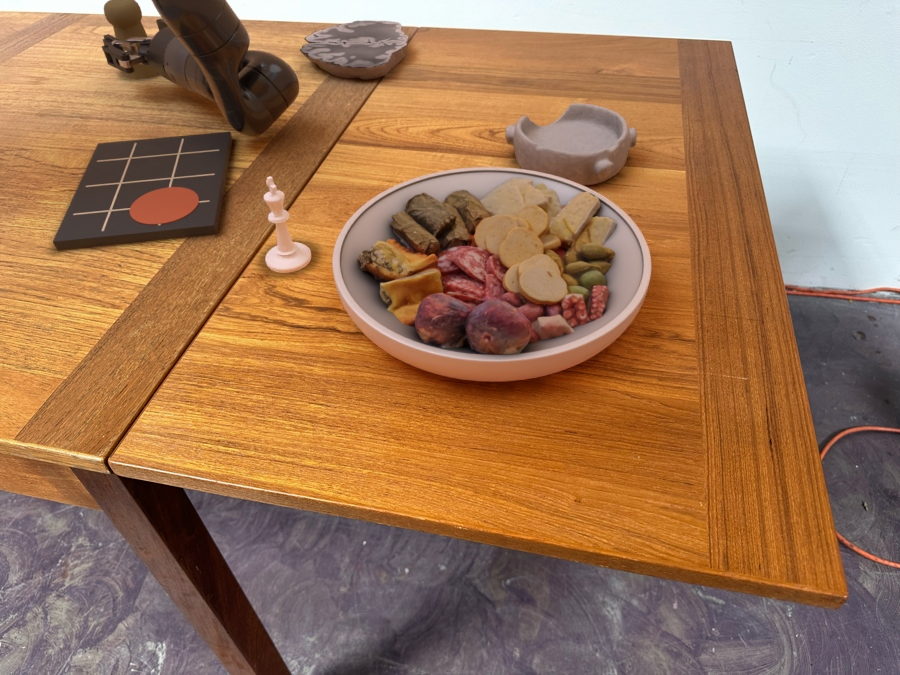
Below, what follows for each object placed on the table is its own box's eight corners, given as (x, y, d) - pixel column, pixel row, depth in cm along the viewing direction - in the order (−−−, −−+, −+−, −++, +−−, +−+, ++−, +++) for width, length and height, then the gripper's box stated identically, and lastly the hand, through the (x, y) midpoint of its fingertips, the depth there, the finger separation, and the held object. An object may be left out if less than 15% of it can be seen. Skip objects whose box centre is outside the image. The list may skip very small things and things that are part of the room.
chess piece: (276, 281, 68) (254, 197, 61) (258, 257, 71) (235, 174, 64) (320, 264, 70) (304, 181, 63) (301, 241, 73) (283, 159, 66)
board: (58, 252, 72) (51, 240, 71) (102, 153, 88) (97, 142, 87) (217, 236, 74) (213, 224, 73) (233, 141, 89) (230, 130, 88)
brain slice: (316, 38, 116) (313, 20, 113) (413, 38, 115) (412, 20, 113) (292, 86, 102) (289, 67, 99) (403, 86, 101) (401, 67, 99)
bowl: (349, 209, 77) (341, 147, 72) (606, 199, 78) (616, 137, 72) (325, 408, 56) (310, 342, 50) (680, 393, 56) (703, 326, 51)
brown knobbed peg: (141, 63, 109) (116, -9, 101) (171, 68, 107) (148, -5, 100) (115, 78, 105) (88, 4, 97) (146, 83, 103) (120, 8, 96)
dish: (491, 163, 84) (492, 126, 80) (560, 125, 91) (563, 90, 87) (585, 207, 77) (590, 168, 73) (651, 162, 83) (659, 125, 80)
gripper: (227, 19, 94) (168, -5, 102) (134, 49, 87) (78, 20, 95) (240, 72, 99) (183, 45, 107) (153, 104, 92) (99, 72, 100)
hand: (134, 33), depth 101 cm, fingers open, 8 cm apart
